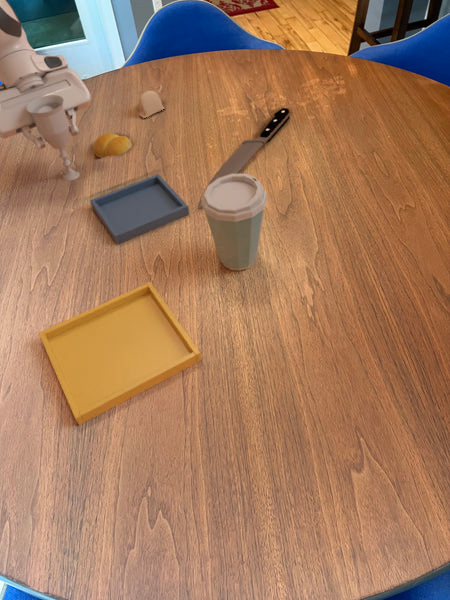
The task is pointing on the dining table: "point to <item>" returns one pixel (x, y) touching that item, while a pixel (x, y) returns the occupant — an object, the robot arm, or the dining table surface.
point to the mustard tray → (117, 351)
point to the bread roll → (111, 145)
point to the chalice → (53, 127)
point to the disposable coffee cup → (235, 218)
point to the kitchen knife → (252, 146)
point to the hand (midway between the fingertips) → (59, 140)
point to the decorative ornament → (150, 102)
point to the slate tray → (139, 208)
